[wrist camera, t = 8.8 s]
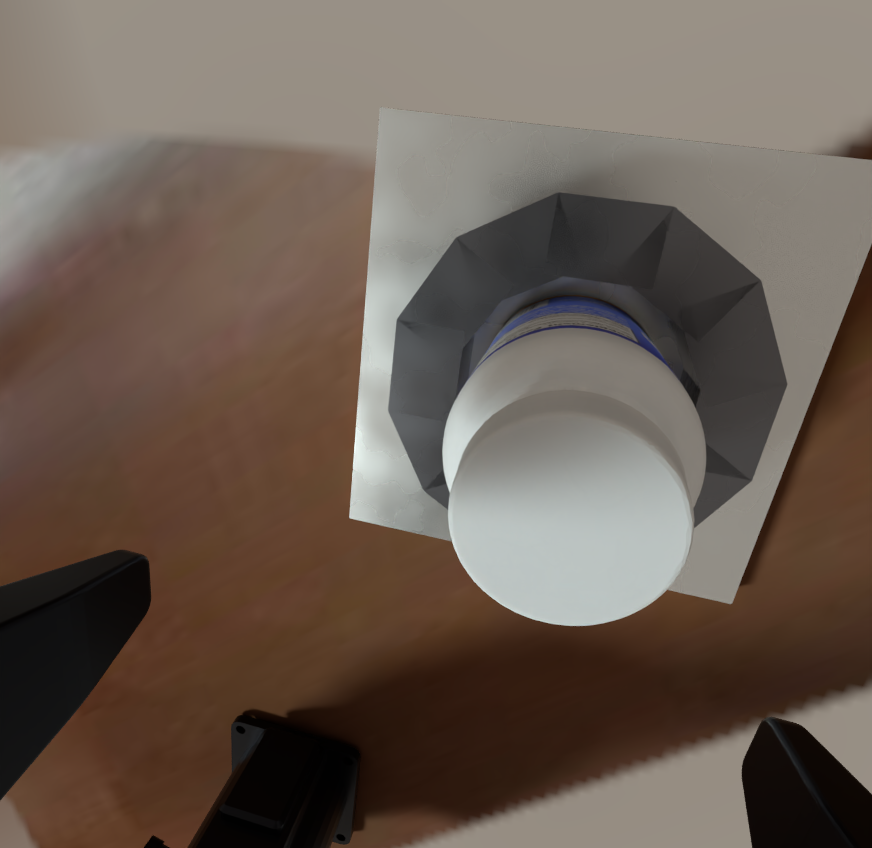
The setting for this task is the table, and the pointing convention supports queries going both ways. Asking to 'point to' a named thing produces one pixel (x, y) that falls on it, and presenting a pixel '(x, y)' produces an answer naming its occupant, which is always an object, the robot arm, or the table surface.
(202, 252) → the table surface
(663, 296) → the collar
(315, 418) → the table surface
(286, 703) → the table surface
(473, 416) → the pill bottle
